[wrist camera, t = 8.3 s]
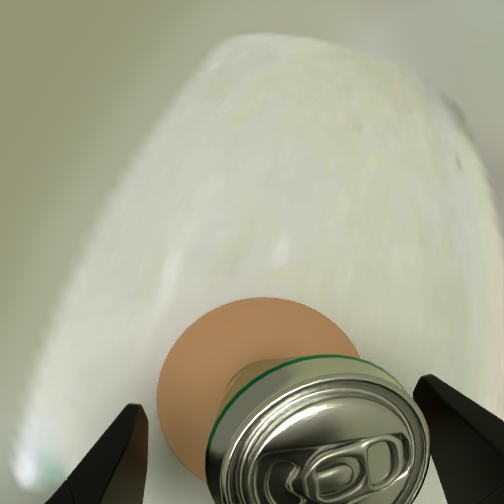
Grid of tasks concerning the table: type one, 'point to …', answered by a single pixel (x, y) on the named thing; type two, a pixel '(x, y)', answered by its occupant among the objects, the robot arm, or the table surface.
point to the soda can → (316, 435)
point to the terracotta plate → (232, 363)
